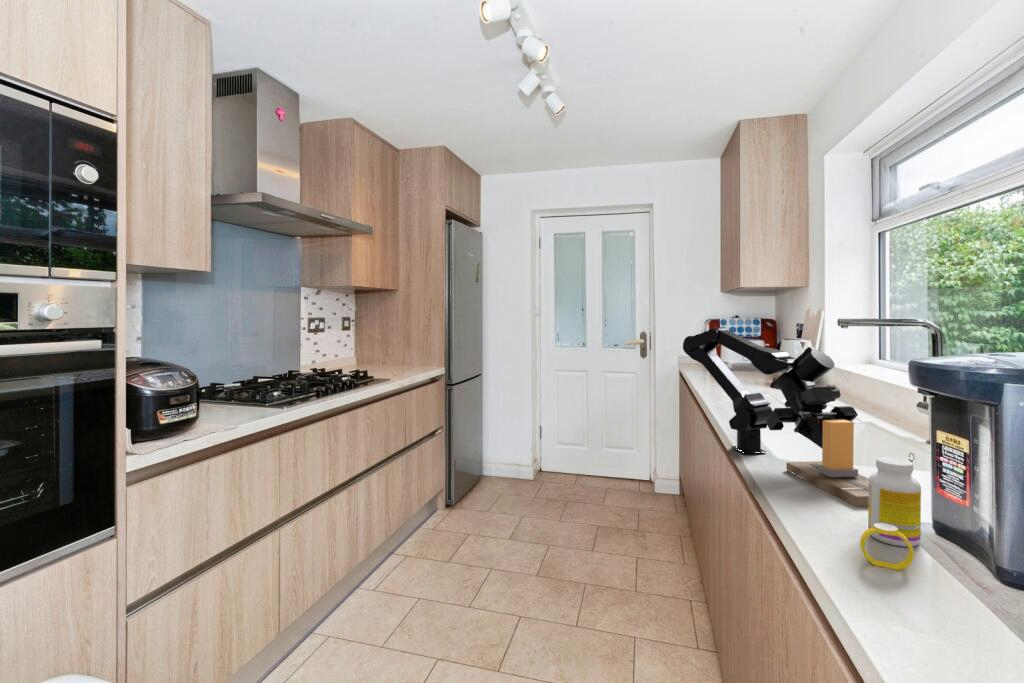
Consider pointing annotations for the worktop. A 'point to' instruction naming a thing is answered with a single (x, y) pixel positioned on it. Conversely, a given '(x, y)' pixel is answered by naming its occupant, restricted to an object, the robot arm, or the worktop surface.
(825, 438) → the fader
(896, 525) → the supplement bottle
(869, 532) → the watch
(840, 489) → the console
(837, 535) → the worktop surface
